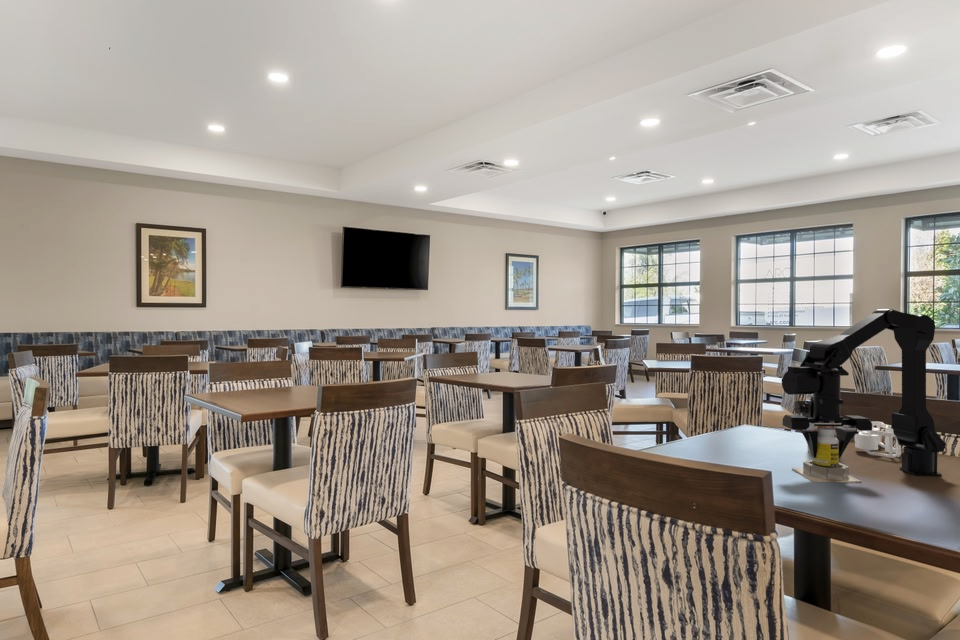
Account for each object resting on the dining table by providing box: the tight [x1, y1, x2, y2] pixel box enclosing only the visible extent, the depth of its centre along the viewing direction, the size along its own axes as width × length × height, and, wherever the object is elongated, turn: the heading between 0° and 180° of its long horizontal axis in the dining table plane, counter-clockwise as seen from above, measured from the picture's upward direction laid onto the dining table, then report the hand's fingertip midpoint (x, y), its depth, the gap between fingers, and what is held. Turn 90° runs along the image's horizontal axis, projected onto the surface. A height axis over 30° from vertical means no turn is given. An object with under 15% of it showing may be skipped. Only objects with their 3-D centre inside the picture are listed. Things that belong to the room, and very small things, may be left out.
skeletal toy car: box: [854, 421, 902, 459], centre depth 178 cm, size 20×11×7 cm, turn 145°
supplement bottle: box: [812, 427, 840, 468], centre depth 148 cm, size 5×5×10 cm
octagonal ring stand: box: [791, 459, 863, 484], centre depth 147 cm, size 11×11×3 cm
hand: (826, 457), depth 147 cm, fingers closed on supplement bottle, 5 cm apart
